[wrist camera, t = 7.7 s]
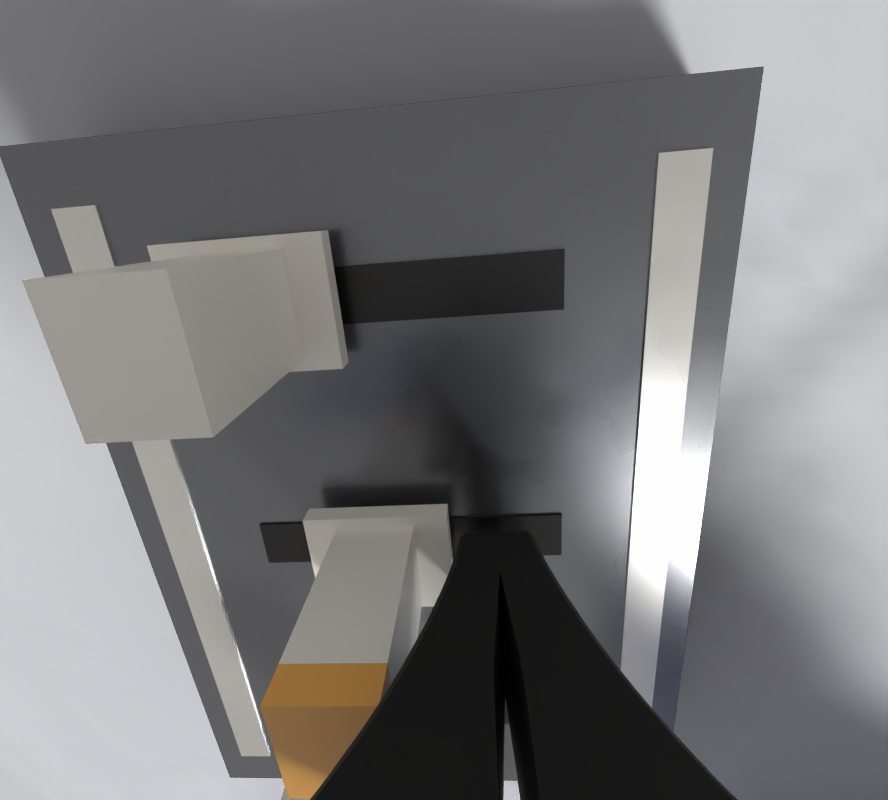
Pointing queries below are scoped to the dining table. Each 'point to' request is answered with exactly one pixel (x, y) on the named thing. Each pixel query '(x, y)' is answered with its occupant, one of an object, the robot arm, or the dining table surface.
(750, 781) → the dining table surface
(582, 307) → the panel
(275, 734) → the breaker mid
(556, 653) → the robot arm
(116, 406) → the block
